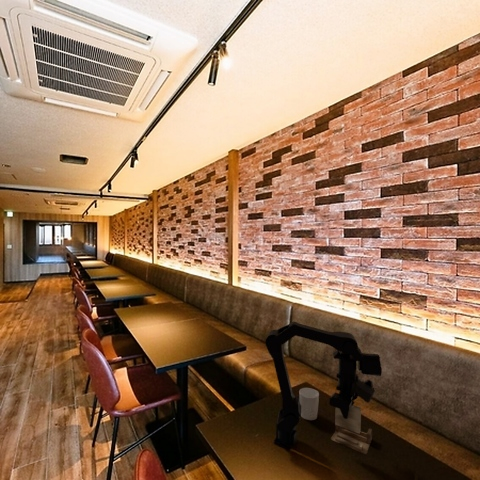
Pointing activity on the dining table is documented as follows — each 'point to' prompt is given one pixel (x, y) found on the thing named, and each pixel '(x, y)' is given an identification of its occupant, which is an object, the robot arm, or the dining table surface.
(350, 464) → the dining table surface
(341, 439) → the offcut stack
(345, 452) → the dining table surface
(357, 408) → the birch sheet
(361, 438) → the rack
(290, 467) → the dining table surface
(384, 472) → the dining table surface
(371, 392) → the robot arm
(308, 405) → the white cup
